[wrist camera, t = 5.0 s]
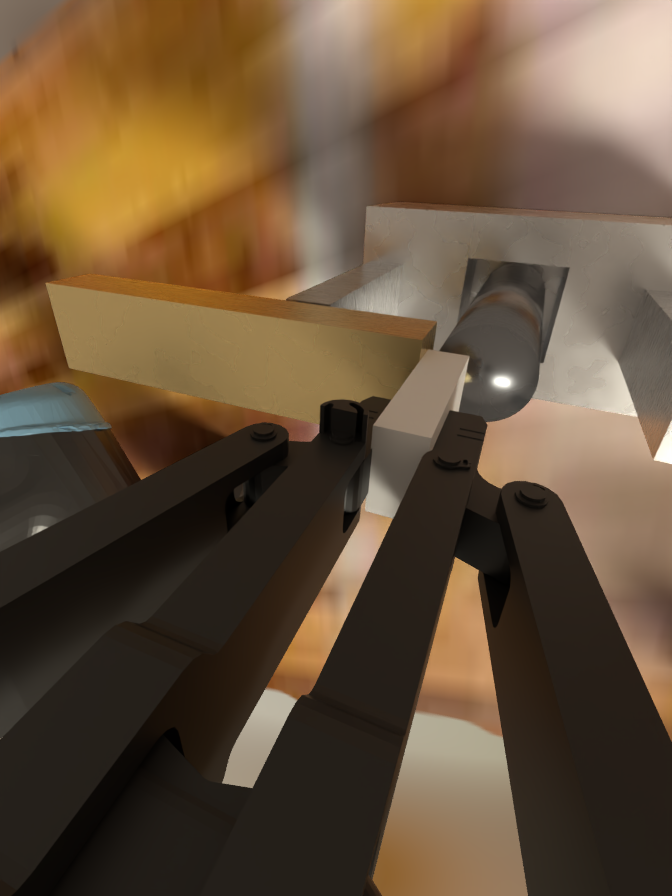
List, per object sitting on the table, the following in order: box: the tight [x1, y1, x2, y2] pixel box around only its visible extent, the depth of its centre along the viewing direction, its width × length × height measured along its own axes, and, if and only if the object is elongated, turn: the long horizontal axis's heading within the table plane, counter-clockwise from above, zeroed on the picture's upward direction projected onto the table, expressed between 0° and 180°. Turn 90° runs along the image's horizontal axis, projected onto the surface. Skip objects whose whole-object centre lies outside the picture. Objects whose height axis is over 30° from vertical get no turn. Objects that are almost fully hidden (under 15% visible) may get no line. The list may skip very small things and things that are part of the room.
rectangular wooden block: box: [46, 274, 437, 424], centre depth 20 cm, size 17×4×2 cm, turn 88°
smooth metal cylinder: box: [439, 263, 545, 422], centre depth 25 cm, size 4×4×16 cm
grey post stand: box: [286, 202, 672, 464], centre depth 25 cm, size 18×10×18 cm, turn 88°
